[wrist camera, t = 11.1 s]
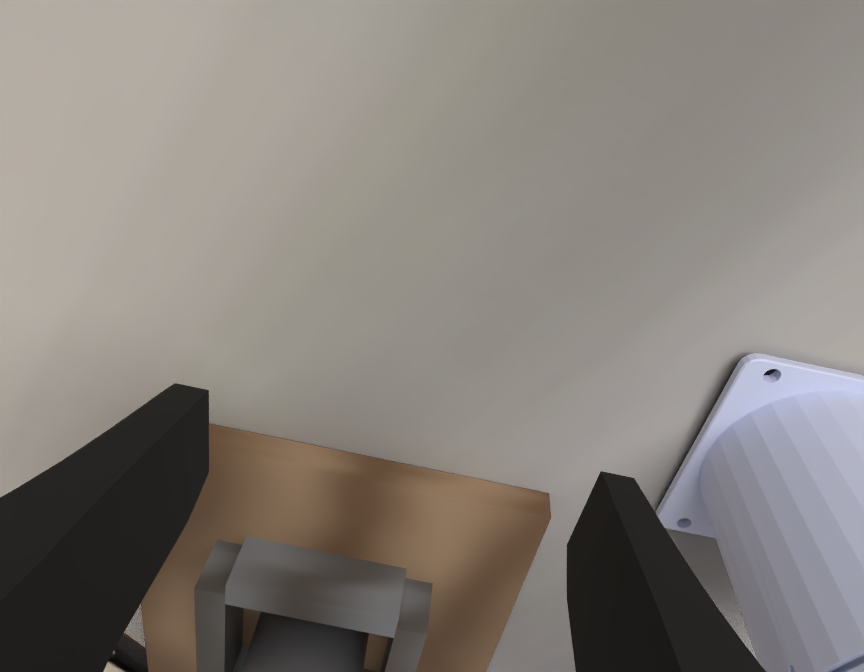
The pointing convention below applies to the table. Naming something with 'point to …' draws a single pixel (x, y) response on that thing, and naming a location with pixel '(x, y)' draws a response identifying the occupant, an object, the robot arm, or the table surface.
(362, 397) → the table surface
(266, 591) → the mount board
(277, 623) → the lens
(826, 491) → the robot arm
